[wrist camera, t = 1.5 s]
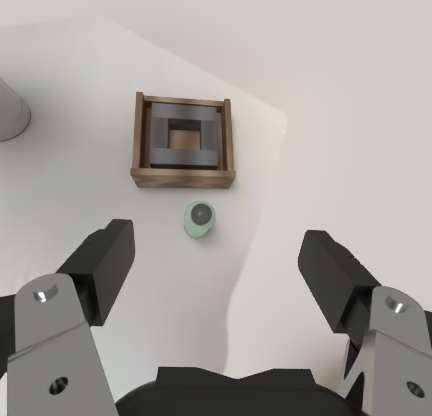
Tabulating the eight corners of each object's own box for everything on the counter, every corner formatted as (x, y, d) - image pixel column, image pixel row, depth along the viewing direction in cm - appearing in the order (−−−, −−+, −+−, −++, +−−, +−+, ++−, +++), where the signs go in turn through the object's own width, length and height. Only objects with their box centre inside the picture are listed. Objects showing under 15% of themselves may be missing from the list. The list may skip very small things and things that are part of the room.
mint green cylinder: (184, 238, 38) (185, 229, 27) (184, 215, 39) (185, 197, 28) (207, 237, 39) (218, 229, 28) (207, 215, 40) (217, 198, 29)
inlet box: (137, 186, 39) (130, 174, 33) (141, 106, 43) (135, 82, 37) (228, 188, 42) (235, 177, 36) (224, 112, 45) (231, 90, 39)
